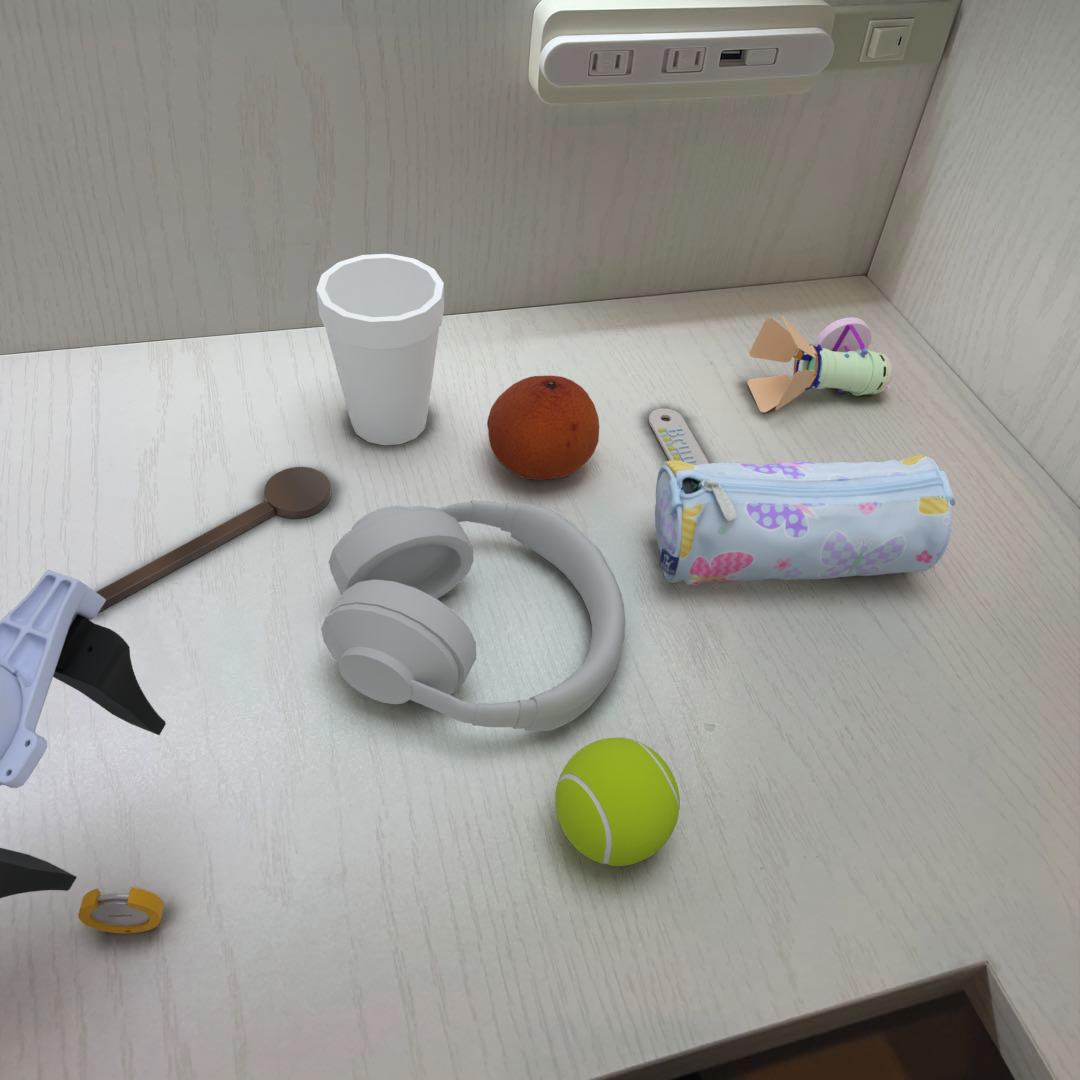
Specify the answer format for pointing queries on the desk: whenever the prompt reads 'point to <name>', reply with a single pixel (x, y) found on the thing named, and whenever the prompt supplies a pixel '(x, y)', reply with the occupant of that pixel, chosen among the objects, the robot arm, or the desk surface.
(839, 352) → the spotlight
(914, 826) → the desk surface
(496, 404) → the fruit
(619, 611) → the headphones
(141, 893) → the tracker
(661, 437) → the keychain
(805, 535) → the pencil case
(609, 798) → the tennis ball
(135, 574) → the spoon
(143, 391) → the desk surface
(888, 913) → the desk surface
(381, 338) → the foam cup
